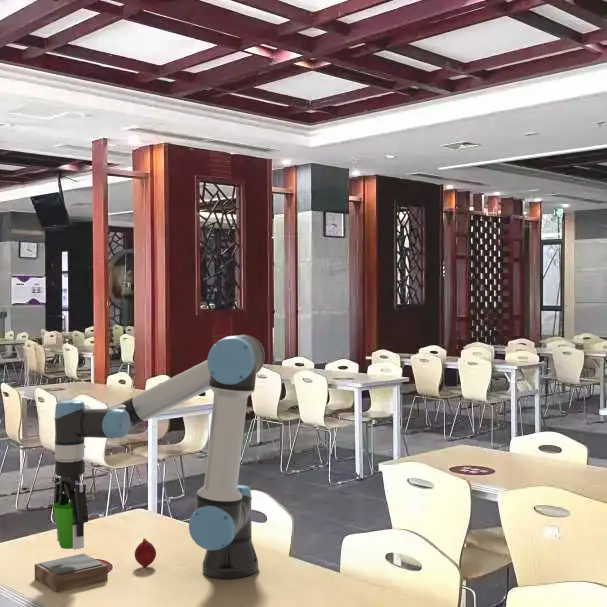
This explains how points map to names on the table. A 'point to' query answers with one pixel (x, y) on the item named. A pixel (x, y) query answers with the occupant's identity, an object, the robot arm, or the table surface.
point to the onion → (145, 553)
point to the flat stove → (71, 572)
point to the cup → (64, 524)
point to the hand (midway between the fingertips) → (70, 544)
